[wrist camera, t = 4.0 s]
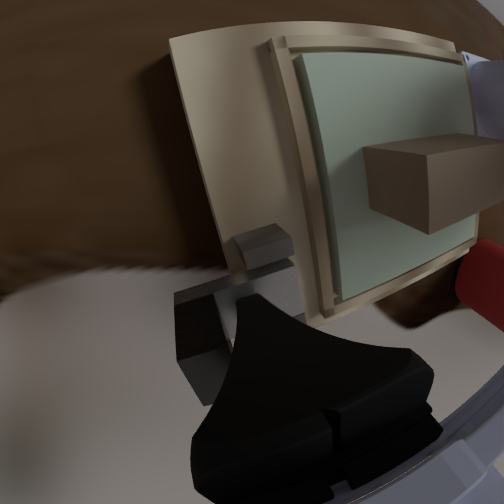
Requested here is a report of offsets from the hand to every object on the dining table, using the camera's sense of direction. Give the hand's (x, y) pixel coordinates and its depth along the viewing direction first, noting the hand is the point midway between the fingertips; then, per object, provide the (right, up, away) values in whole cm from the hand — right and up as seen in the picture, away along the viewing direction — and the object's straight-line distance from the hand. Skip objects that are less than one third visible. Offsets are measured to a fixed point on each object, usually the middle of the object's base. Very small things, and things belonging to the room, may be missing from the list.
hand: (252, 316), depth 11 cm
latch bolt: (-1, 0, +1) cm, 2 cm away
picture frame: (+6, +8, +4) cm, 11 cm away
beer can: (+21, +1, +11) cm, 24 cm away
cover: (+9, +7, +3) cm, 12 cm away
